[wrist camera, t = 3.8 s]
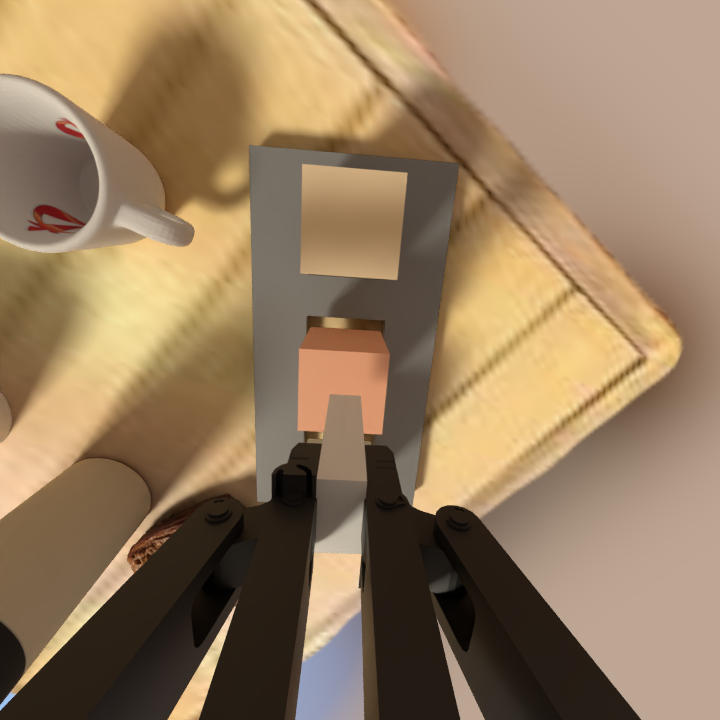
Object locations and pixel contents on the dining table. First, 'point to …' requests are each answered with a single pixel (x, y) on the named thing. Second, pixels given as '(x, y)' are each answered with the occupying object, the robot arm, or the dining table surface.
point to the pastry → (160, 536)
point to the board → (343, 301)
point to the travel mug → (61, 554)
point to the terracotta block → (342, 375)
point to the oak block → (351, 221)
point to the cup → (74, 178)
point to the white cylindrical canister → (4, 418)
